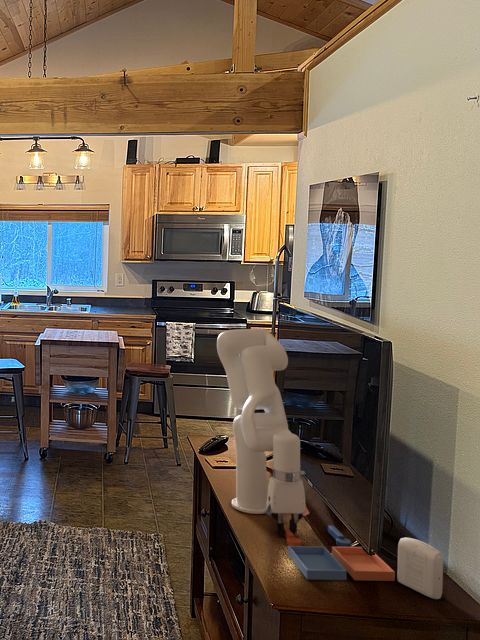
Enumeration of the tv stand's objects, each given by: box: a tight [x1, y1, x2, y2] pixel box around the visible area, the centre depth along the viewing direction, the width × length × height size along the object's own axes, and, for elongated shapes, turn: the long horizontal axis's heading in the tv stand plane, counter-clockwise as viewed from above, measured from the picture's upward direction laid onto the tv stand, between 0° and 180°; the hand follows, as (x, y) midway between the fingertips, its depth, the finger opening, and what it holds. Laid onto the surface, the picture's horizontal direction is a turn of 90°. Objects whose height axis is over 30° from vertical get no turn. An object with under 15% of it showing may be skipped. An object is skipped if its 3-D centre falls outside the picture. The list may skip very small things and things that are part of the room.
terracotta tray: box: [331, 546, 396, 582], centre depth 176 cm, size 14×10×2 cm
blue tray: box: [287, 545, 348, 581], centre depth 177 cm, size 14×10×2 cm
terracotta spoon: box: [283, 524, 302, 546], centre depth 194 cm, size 11×4×2 cm, turn 175°
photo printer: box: [396, 537, 444, 600], centre depth 164 cm, size 10×4×12 cm, turn 23°
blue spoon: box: [327, 524, 352, 547], centre depth 193 cm, size 11×4×2 cm, turn 175°
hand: (286, 534), depth 196 cm, fingers closed
